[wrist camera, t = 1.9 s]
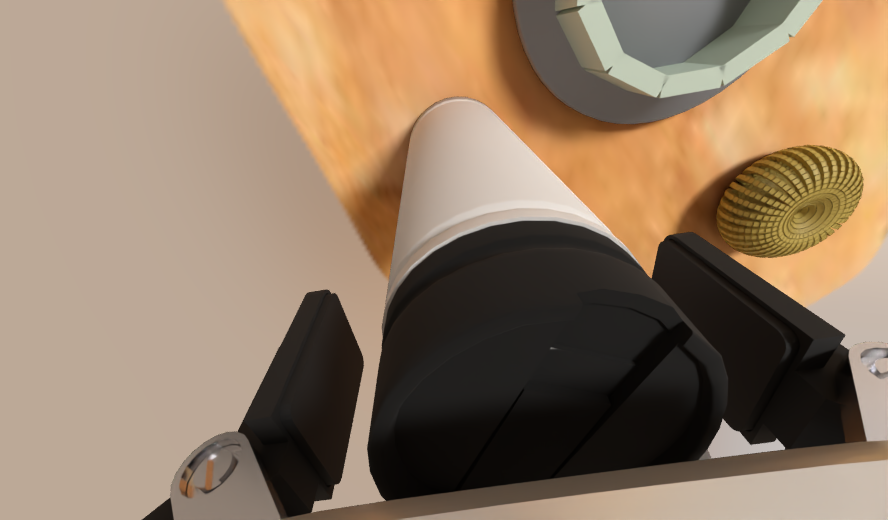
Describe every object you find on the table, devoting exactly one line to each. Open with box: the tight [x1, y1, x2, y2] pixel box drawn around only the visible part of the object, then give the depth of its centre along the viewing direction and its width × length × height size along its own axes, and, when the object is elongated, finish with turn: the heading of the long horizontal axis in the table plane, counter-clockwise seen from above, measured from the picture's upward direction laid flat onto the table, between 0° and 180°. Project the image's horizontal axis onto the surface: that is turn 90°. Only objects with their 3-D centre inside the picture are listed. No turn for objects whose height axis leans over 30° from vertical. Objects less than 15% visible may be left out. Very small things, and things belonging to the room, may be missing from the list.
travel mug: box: [367, 97, 728, 501], centre depth 14 cm, size 6×7×20 cm
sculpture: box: [716, 145, 863, 258], centre depth 23 cm, size 8×4×8 cm
